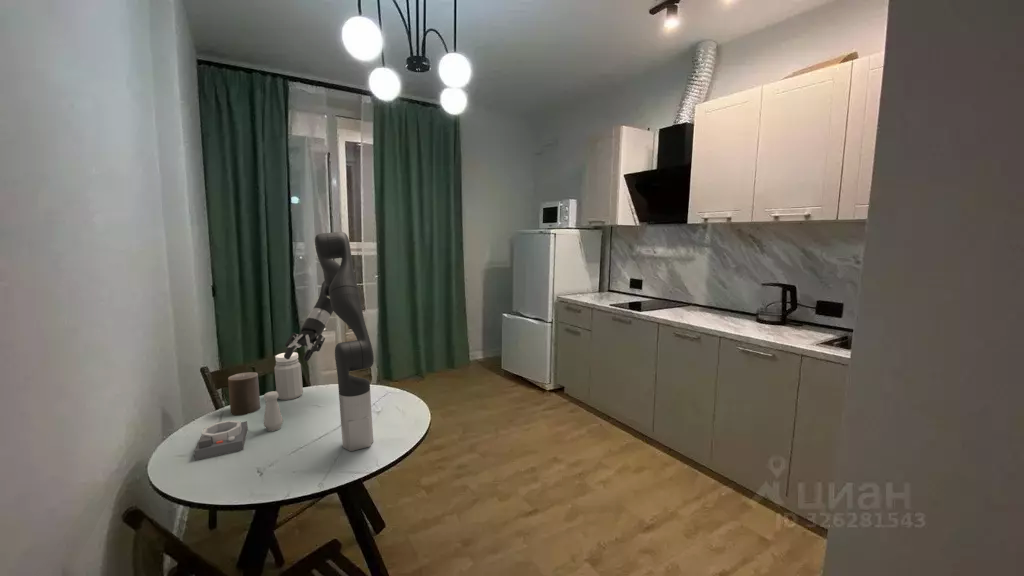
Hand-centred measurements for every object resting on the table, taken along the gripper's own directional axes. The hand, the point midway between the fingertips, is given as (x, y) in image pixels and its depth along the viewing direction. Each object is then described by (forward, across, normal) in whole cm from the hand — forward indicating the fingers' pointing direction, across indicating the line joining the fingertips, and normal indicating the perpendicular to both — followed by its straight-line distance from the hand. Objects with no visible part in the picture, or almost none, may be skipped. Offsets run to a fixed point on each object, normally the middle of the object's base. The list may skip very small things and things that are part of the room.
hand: (295, 359), depth 150 cm
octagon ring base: (+32, -7, -2) cm, 33 cm away
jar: (+6, -18, +25) cm, 31 cm away
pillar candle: (+17, -24, +14) cm, 32 cm away
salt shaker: (+24, 0, +7) cm, 24 cm away
